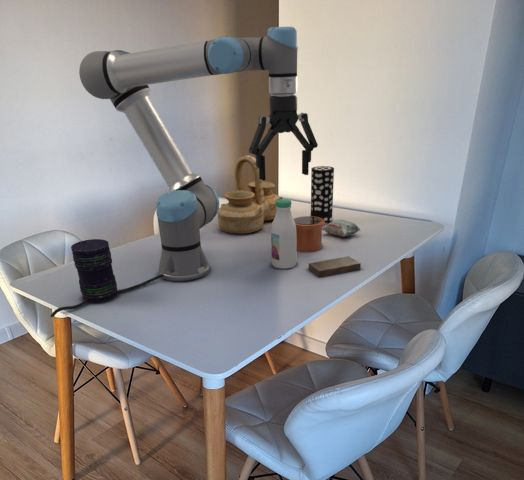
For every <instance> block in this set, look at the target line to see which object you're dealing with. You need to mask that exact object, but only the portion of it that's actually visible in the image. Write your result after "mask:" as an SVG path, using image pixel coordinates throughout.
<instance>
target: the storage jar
mask: <svg viewBox="0 0 524 480" xmlns="http://www.w3.org/2000/svg"><path fill="white" fill-rule="evenodd" d="M109 243H110V242H109V241H108V240H106V239H103V238H102V239H101V238H93V239H84V240H80V241H78V242H74V243H73V244H72V245H71V246H70V249H71V254H72V260H73V263H74V267H75V268H76V271H77V276H78V284H79V290H80V293H81V295H82V300H83V301H85V300H86V299H88V302H87V303H86V304H92V305H93V304H94V305H95V304H103V303H108V302H111V301H113V300H115V299H117V297H119V293H118V292H117V290H118V284H117V280H116V275H115V274H114V270H113V259H112V252H111V248H110V247H109V246H110V244H109Z"/></svg>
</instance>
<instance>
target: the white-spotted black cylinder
mask: <svg viewBox="0 0 524 480" xmlns="http://www.w3.org/2000/svg"><path fill="white" fill-rule="evenodd" d="M310 172H311V173H310V174H311V175H310V177H311V178H310V181H311V182H310V216H314V217H320V218H322V219H324V221H325V222H324V226H326V225H327V224H329V223H331V222H332V221H333V209H334V208H333V207H334V183H335V181H334V178H335V167H333V166H328V165H320V166H319V165H318V166H313V167H311V171H310Z"/></svg>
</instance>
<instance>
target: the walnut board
mask: <svg viewBox="0 0 524 480" xmlns="http://www.w3.org/2000/svg"><path fill="white" fill-rule="evenodd" d="M361 267H362V263H361V262H360V261H358V260H357V259H355V258H353V257H351V256H350V255H348V256H342V257H336V258H331V259H325V260H320V261H315V262H309V263H308V271H310V272H311V273H313V274H314V275H315V276H317V278H324V277H328V276H334V275H339V274H344V273H350V272H355V271H359V270H361Z"/></svg>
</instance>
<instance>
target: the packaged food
mask: <svg viewBox="0 0 524 480" xmlns="http://www.w3.org/2000/svg"><path fill="white" fill-rule="evenodd" d="M322 231H324V232H325V233H326V234H330V235H333V236H337V237H341V238H342V237H343V238H344V237H349V236H352V235H355V234H357V233H358V232H360V231H361V228H360V227H359V226H358V225H357V224H356V223H354V222H351V221H347V220H344V219H335V220H332V222H331V223H329V224H327V225H324V227H323V228H322Z"/></svg>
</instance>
